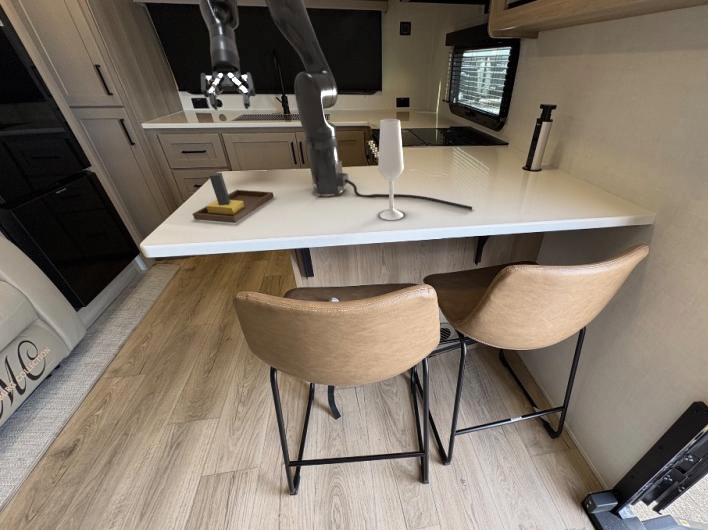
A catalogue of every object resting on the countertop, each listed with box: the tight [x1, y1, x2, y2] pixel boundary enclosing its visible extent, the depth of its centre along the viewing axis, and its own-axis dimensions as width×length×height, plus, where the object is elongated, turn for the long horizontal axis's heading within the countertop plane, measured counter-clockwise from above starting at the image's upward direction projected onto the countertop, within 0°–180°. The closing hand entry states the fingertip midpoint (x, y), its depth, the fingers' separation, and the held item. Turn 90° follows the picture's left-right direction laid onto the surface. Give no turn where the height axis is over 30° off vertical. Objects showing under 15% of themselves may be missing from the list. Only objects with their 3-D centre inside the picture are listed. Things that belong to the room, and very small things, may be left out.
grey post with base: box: [205, 172, 245, 216], centre depth 91 cm, size 8×6×11 cm
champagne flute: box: [377, 118, 404, 221], centre depth 87 cm, size 7×7×24 cm
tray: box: [192, 189, 275, 224], centre depth 97 cm, size 13×21×2 cm, turn 168°
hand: (230, 107), depth 97 cm, fingers open, 8 cm apart
